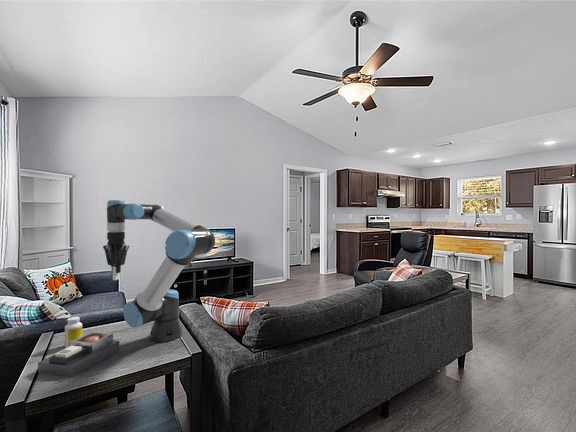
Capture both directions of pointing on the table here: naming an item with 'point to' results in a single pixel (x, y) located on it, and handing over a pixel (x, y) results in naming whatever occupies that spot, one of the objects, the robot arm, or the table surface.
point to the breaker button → (92, 339)
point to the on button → (68, 351)
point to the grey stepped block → (80, 356)
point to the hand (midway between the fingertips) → (116, 279)
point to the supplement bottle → (72, 330)
